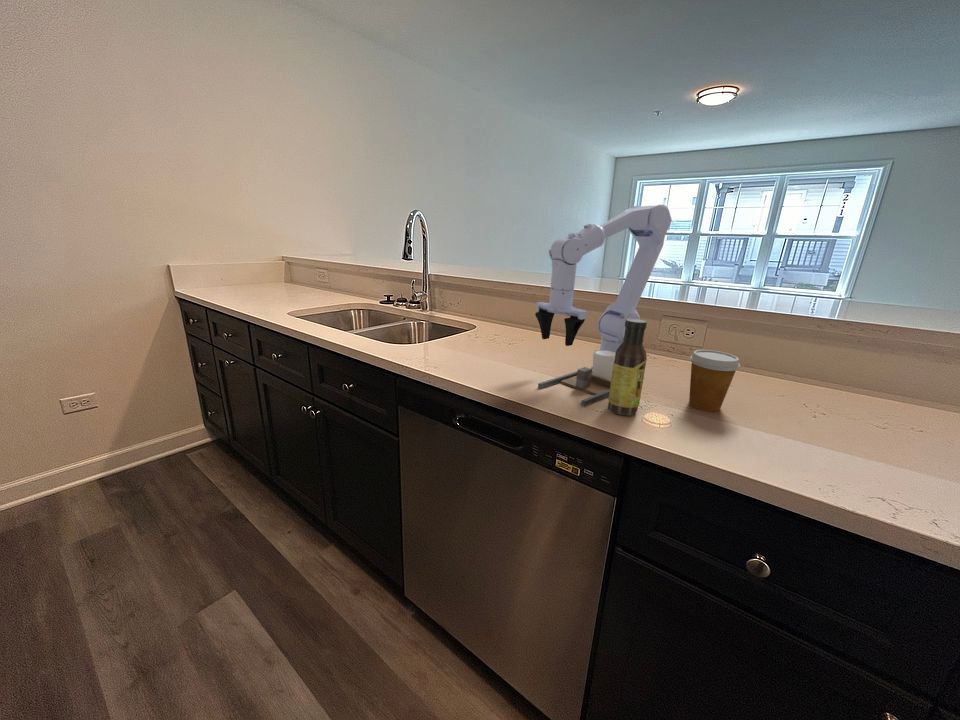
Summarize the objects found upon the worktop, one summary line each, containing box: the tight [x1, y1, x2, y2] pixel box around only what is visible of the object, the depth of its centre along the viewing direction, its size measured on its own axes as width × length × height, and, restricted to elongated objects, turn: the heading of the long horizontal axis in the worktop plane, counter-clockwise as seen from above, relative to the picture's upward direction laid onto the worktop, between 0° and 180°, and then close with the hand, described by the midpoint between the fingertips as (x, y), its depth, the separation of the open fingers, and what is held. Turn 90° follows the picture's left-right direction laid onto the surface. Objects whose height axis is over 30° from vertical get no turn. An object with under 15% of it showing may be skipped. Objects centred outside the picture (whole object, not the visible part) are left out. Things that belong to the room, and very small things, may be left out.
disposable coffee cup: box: [688, 349, 741, 412], centre depth 88 cm, size 10×10×12 cm
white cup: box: [592, 349, 616, 381], centre depth 102 cm, size 7×7×7 cm
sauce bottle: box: [607, 319, 648, 416], centre depth 83 cm, size 6×6×20 cm
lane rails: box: [537, 370, 610, 407], centre depth 97 cm, size 18×13×1 cm
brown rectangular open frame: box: [560, 366, 611, 396], centre depth 100 cm, size 15×11×5 cm
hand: (556, 341), depth 102 cm, fingers open, 7 cm apart
